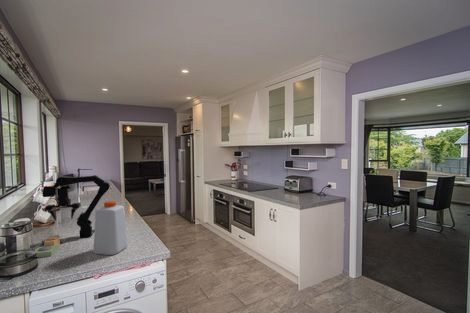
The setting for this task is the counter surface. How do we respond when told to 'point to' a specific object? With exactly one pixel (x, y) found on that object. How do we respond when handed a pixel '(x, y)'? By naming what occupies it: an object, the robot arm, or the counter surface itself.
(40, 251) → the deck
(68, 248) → the counter surface
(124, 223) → the plastic bottle
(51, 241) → the brown cardboard carton
